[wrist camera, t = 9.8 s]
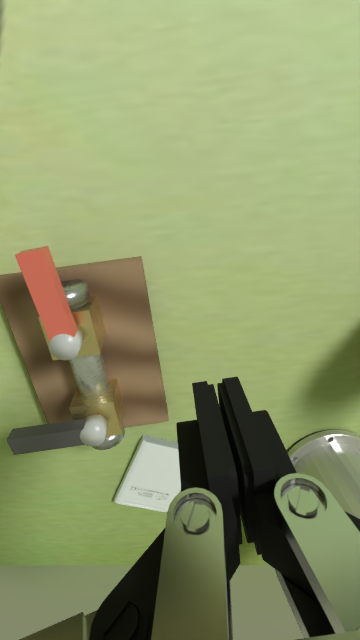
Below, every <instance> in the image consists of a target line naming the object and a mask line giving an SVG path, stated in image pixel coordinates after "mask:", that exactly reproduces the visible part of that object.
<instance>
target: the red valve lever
mask: <svg viewBox="0 0 360 640" xmlns="http://www.w3.org/2000/svg"><path fill="white" fill-rule="evenodd" d="M15 257H16V259H17V262H18V264H19V267H20V269H21V271H22V274H23V276H24V279H25V281H26V284H27V286H28V289H29V291H30V294H31V296H32V299H33V301H34V304H35V306H36V309H37V311H38V313H39V316H40V318H41V321H42V323H43V326H44V328H45V331H46V333H47V336H48V338H49V341H50V343H49V350H50V352H51V354H52V355H53V356H54V357H56V358H58V359H60V360H71V359H73V358H75V357H76V356H77V354H78V352H79V350H80V348H81V345H82V343H83V334H82V333H81V331H80V330H79V329H77V327H76V324H75V321H74V318H73V315H72V312H71V310H70V307H69V304H68V301H67V298H66V295H65V293H64V290H63V287H62V284H61V281H60V279H59V276H58V273H57V270H56V267H55V264H54V262H53V259H52V256H51V253H50V250H49V247H48V246H46V247H41V248H35V249H30V250H25V251H21V252H20V253H18V254H16V255H15Z"/></svg>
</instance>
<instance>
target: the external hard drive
mask: <svg viewBox="0 0 360 640" xmlns="http://www.w3.org/2000/svg"><path fill="white" fill-rule="evenodd" d="M180 489H181V481H180V467H179V452H178V443H175V442H171V441H167V440H162V439H158V438H154V437H150V436H146V435H143V436H142V438H141V440H140V442H139V445H138V447H137V449H136V451H135V453H134V456H133V458H132V460H131V462H130V464H129V466H128V469H127V471H126V473H125V475H124V477H123V480H122V482H121V484H120V486H119V488H118V491H117V493H116V495H115V500H114V502H116V503H118V504H123V505H128V506H134V507H140V508H145V509H150V510H155V511H161V512H167V511H168V509H169V505H170V503H171V502H172V500H173V499H174V497H175V496H177V494H178V492H179V491H180Z"/></svg>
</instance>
